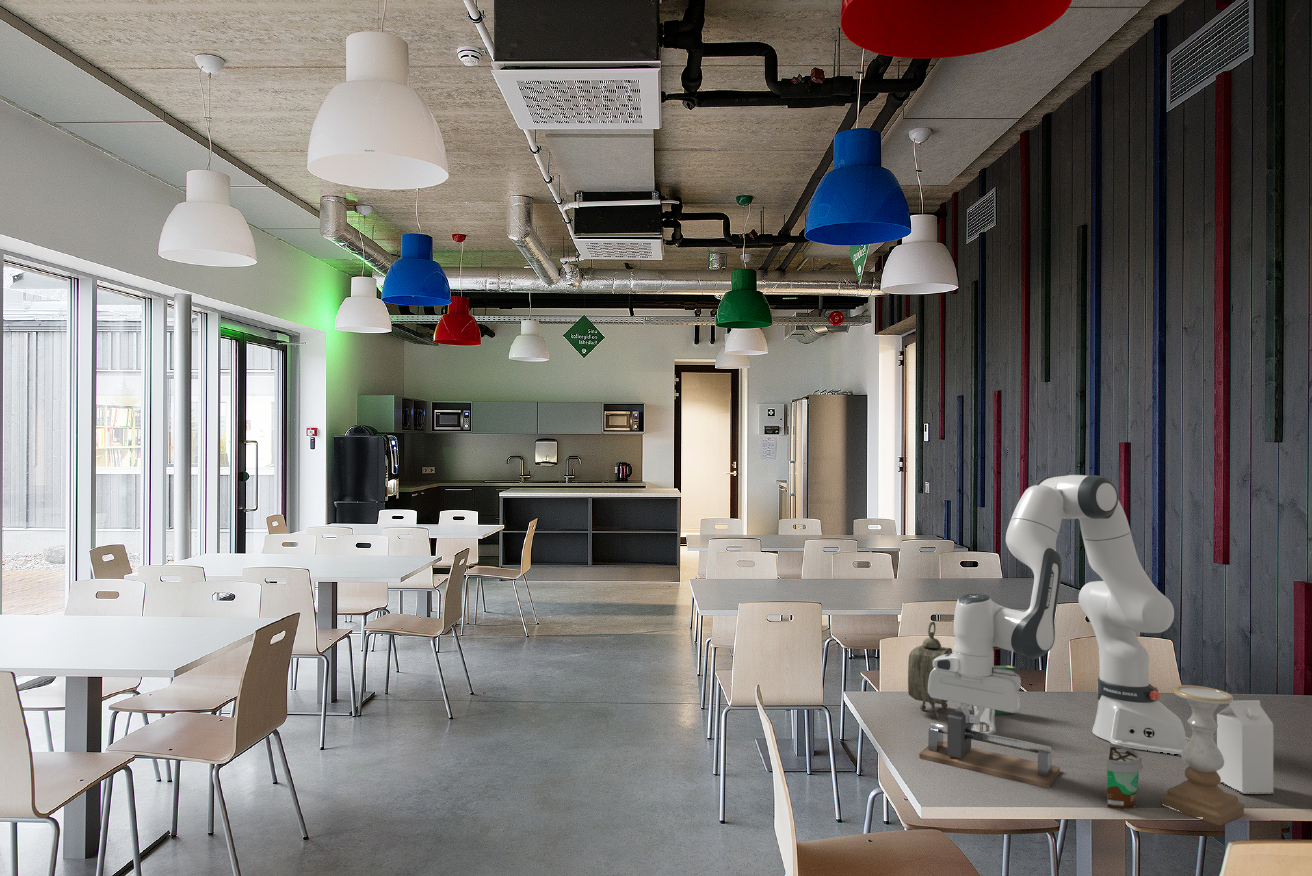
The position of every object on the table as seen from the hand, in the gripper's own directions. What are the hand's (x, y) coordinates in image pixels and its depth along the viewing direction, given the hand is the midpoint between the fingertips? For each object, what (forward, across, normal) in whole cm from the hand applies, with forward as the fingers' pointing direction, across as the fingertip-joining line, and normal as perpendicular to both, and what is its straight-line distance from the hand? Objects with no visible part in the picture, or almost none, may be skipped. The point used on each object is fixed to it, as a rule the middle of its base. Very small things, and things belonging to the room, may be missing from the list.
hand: (972, 723), depth 188 cm
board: (+9, -4, 0) cm, 9 cm away
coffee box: (+9, +3, -42) cm, 43 cm away
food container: (+9, -32, +4) cm, 33 cm away
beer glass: (+9, +4, -24) cm, 26 cm away
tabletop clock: (+9, +19, -31) cm, 38 cm away
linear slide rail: (+9, -4, 0) cm, 9 cm away
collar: (+7, +3, 0) cm, 8 cm away
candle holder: (+9, -44, -2) cm, 45 cm away
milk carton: (+9, -52, -21) cm, 56 cm away
